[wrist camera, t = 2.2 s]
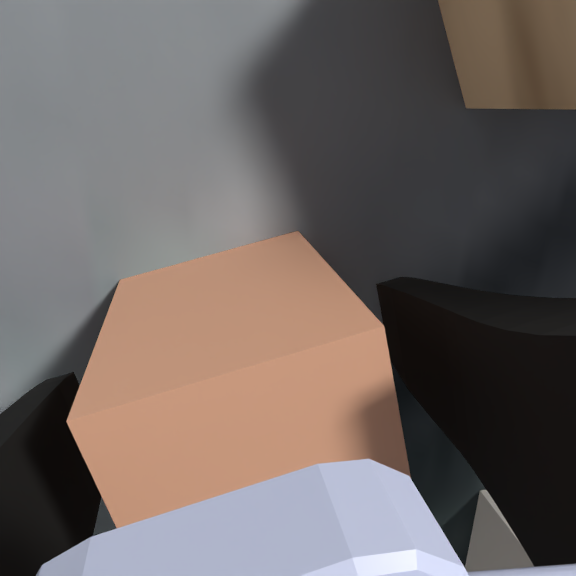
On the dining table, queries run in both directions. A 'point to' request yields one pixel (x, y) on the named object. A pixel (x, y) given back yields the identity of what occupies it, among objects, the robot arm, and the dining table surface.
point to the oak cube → (513, 52)
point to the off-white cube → (493, 540)
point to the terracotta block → (232, 379)
